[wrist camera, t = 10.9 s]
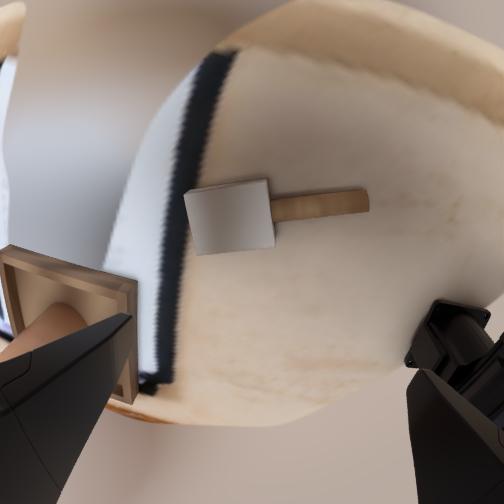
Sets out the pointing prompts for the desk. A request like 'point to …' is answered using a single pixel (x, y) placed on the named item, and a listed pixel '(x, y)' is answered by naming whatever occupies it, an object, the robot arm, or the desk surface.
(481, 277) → the desk surface
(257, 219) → the mallet
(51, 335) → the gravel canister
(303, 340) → the desk surface
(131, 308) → the walnut tray
